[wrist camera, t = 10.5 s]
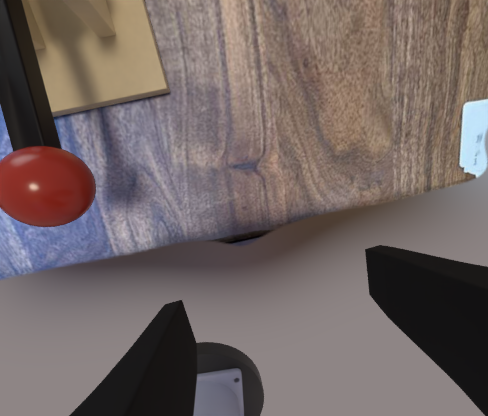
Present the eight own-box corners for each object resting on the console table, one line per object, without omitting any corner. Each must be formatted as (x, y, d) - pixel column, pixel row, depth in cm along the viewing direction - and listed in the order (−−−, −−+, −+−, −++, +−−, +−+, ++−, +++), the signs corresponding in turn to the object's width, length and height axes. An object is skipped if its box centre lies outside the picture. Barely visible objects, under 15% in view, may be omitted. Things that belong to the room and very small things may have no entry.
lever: (117, 214, 11) (75, 217, 8) (47, 231, 10) (-24, 241, 7) (40, -77, 10) (-36, -194, 7) (-34, -66, 10) (-144, -182, 7)
